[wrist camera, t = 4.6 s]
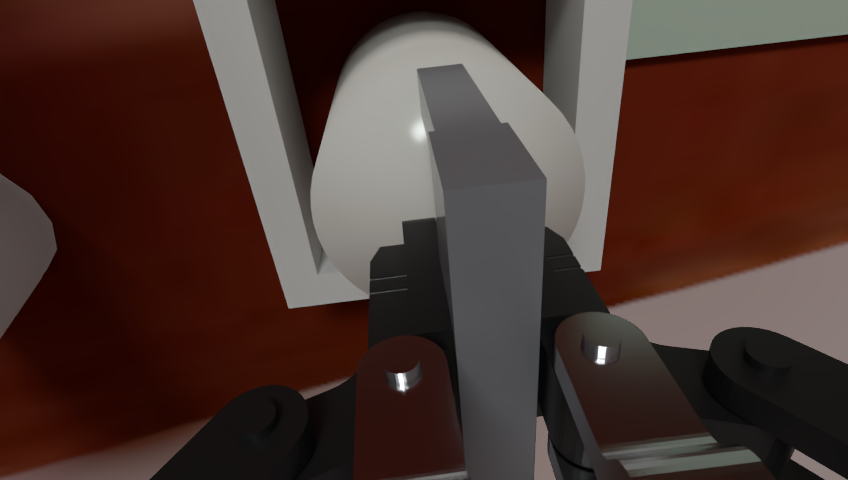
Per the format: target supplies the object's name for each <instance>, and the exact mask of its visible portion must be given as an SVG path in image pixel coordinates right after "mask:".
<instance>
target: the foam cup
mask: <svg viewBox="0 0 848 480" xmlns="http://www.w3.org/2000/svg"><path fill="white" fill-rule="evenodd" d="M56 251H57V246H56V241H55V235H54V230H53V225H52V222H51V221H50V219H49V218H48V217H47V215H46V214H45V213H44V211H43V210H42V209H41V207H40V206H39V205H38V203H37V202H36V201H35V199H34V198H33V196H32V195H31V194H29V193H28V192H26V191H25V190H23V189H22V188H20V187H19V186H17V185H16V184H15V183H13V182H12V181H10V180H9V179H7V178H6V177H4V176H3V175H1V174H0V339H1V337H2V336H3V334H4V333H5V331H6V330H7V328H8V327H9V325H10V324H11V322H12V321H13V319H14V318H15V317H16V315H17V314H18V312H19V311H20V309H21V308H22V306H23V305H24V303H25V302H26V300H27V299H28V298H29V296H30V295H31V293H32V292H33V290H34V289H35V287H36V286H37V284H38V283H39V281H40V280H41V278H42V276H43V274H44V272H45V271H46V270H47V269H48V267H49V265H50V263H51V261H52V259H53V257H54V255H55V253H56Z"/></svg>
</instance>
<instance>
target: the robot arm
mask: <svg viewBox="0 0 848 480" xmlns="http://www.w3.org/2000/svg"><path fill="white" fill-rule="evenodd" d="M402 228H403V240H404V244H400V245H392V246H383V247H380V248H379V249H378V251H377V252H376V254H375V255H374V257H373V258H372V260H371V261H370V287H369V292H370V295H369V333H368V351H367V352H366V353H365V354H364V355H363V357H362V358H361V360H360V362H359V365H358V367H357V372H356V373H355V374H354V375H353V376H352V377H351V378H349V379H348V380H347V381H345V382H344V383H342V384H341V385H339V386H337V387H335V388H333V389H331V390H328V391H326V392H323V393H321V394H318V395H316V396H313V397H311V398H308V399H306V400H304V398H303V397H302V395H301V394H299V393H298V392H297V391H296V390H294V389H292V388H289V387H286V386H280V385H269V386H262V387H259V388H255V389H252V390H250V391H247V392H245V393H243V394H241V395H239V396H238V397H236V398H235V399H233V400H232V401H230V402H229V403H228V404H227V405H226V406H225V407H223V408H222V409H221V410H220V411H219V412H218V413H217V414H216V415H215V416H214V417H213V418H212V419H211V420H210V421H209V422H208V423H207V424H206V425H205V426H204V427H203V428H202V429H201V430H200V431H199V432H198V433H197V434H196V435H195V436H194V437H193V438H192V439H191V440H190V441H189V442H188V443H187V444H186V445H185V446H184V447H183V448H182V449H181V450H179V451H178V453H176V454H175V455H174V456H173V457H172V458H171V459H170V460H169V461H168V462H167V463H166V464H165V465H164V466H163V467H162V468H161V469H160V470H159V471H158V472H157V473H156V474H155V475H154V476H153V477H152V478H151V479H150V480H471V479H470V477H468V474H467V469H466V464H465V458H464V453H463V447H462V442H461V436H460V430H459V427H461V422H460V410H459V398H458V386H457V374H456V362H455V350H454V338H453V328H452V323H451V317H450V312H449V307H448V302H447V296H446V291H445V286H444V281H443V275H442V270H441V265H440V256H439V245H438V234H437V224H436V219H435V217H432V218H424V219H416V220H408V221H402ZM538 416H543V417H544V420H545V423H546V426H547V429H548V455H549V459H550V462H551V465H552V468H553V471H554V475H555V478H556V480H824V479H823V478H821V477H819V476H818V475H816V474H814V473H813V472H811V471H809V470H808V469H806V468H804V467H803V466H801V465H799V464H798V463H796V462H795V461H793V460H791V459H790V458H791V456H792V454H793V452H794V450H795V449H797V450H798V451H800V452H802V453H803V454H805V455H807V456H808V457H810V458H812V459H814V460H815V461H817V462H819V463H820V464H822V465H824V466H826V467H827V468H829V469H831V470H832V471H834V472H836V473H837V474H839V475H841V476H842V477H844V478H846V479H848V364H846V363H843V362H841V361H839V360H837V359H835V358H833V357H830V356H828V355H826V354H824V353H822V352H819V351H817V350H815V349H813V348H810V347H808V346H806V345H804V344H802V343H800V342H797V341H795V340H793V339H791V338H789V337H786V336H784V335H781V334H779V333H776V332H772V331H769V330H765V329H760V328H752V327H738V328H731V329H727V330H725V331H723V332H720V333H719V334H718V335H716V336H715V337H714V339H713V340H712V343H711V346H710V349H709V351H706V350H697V349H688V348H679V347H670V346H664V345H659V344H655V343H651V342H649V340H648V339H647V337H646V336H645V334H644V333H643V332H642V331H641V330H640V329H639V328H638V327H637V326H635V325H634V324H632V323H631V322H629V321H627V320H625V319H623V318H621V317H619V316H616V315H612V314H610V312H609V311H608V309H607V307H606V306H605V304H604V303H603V301H602V299H601V298H600V296H599V294H598V293H597V291H596V289H595V288H594V286H593V285H592V283H591V281H590V280H589V278H588V276H587V275H586V273H585V272H584V270H583V269H581V265H580V263H579V262H578V260H577V259H576V257H575V256H573V252H572V250H571V249H570V247H569V246H568V244H567V242H566V241H565V239H564V238H563V237H561V236H560V235H558V234H557V233H555V232H554V231H552V230H551V229H549V228H548V227H545V234H544V257H543V280H542V303H541V326H540V349H539V371H538V394H537V417H538Z"/></svg>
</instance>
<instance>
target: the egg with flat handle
mask: <svg viewBox="0 0 848 480" xmlns="http://www.w3.org/2000/svg"><path fill="white" fill-rule="evenodd" d="M310 194H311V212H312V218H313V224H314V227H315V230H316V233H317V236H318V239H319V241H320V243H321V245H322V247H323V249H324V251H325V253H326V254H327V256H328V257H329V259H330V260H331V262H332V263H333V265H334V266H335V267H336V268H337V269H338V270H339V271H340V273H341V274H342V275H343V276H344V277H345V278H346V279H348V280H349V281H350V282H351V283H352V284H353V285H355V286H356V287H357V288H359V289H360V290H362V291H363V292H365V293H366V294H368V295H370V292H369V287H370V261H371V260H372V258H373V257H374V255H375V254H376V252H377V251H378V249H379V248H380V247H383V246H392V245H400V244H404V240H403V228H402V221H408V220H416V219H424V218H432V217H435V219H436V224H437V234H438V245H439V256H440V265H441V270H442V275H443V281H444V286H445V291H446V296H447V302H448V307H449V312H450V317H451V323H452V328H453V338H454V350H455V362H456V374H457V386H458V398H459V410H460V422H461V427H459V430H460V436H461V442H462V447H463V453H464V458H465V464H466V469H467V474H468V477H470V479H471V480H534V463H535V440H536V417H537V394H538V371H539V349H540V326H541V303H542V280H543V257H544V234H545V227H548V228H549V229H551V230H552V231H554V232H555V233H557V234H558V235H560V236H561V237H563V238H564V239H565V241H566V242H568V241H569V239H570V237H571V236H572V233H573V231H574V229H575V227H576V225H577V222H578V219H579V216H580V213H581V210H582V206H583V200H584V194H585V169H584V161H583V156H582V153H581V149H580V146H579V143H578V140H577V138H576V136H575V134H574V132H573V130H572V127H571V126H570V124H569V123H568V121H567V120H566V118H565V117H564V115H563V114H562V113H561V112H560V110H559V109H558V108H557V107H556V106H555V105H554V104H553V103H552V102H551V101H550V100H549V99H548V98H547V97H546V96H545V95H544V94H543V93H542V92H541V91H540V90H539V89H538V88H537V87H536V86H535V85H534V84H533V83H532V82H531V81H530V80H529V79H527V78H526V77H525V76H524V75H523V74H522V73H521V72H520V71H519V70H518V69H517V68H516V67H515V66H514V65H513V64H512V63H511V62H510V61H509V60H508V59H507V58H506V57H505V56H504V55H502V54H501V53H500V52H499V51H498V50H497V49H496V48H495V47H494V46H493V45H492V44H491V43H490V42H489V41H488V40H487V39H486V38H485V37H484V36H483V35H482V34H481V33H479V32H478V31H477V30H476V29H474V28H473V27H472V26H471V25H469V24H467V23H465V22H464V21H462V20H460V19H458V18H455V17H453V16H450V15H447V14H443V13H439V12H430V11H415V12H409V13H403V14H400V15H397V16H394V17H391V18H389V19H387V20H385V21H383V22H381V23H379V24H377V25H376V26H374V27H373V28H372V29H370V30H369V31H368V32H367V33H366V34H364V35H363V36H362V37H361V38H360V39H359V41H358V42H357V43H356V44H355V45H354V47H353V48H352V49H351V51H350V53H349V54H348V56H347V58H346V60H345V62H344V64H343V67H342V69H341V72H340V76H339V79H338V83H337V87H336V90H335V94H334V98H333V101H332V105H331V109H330V112H329V116H328V120H327V123H326V127H325V131H324V134H323V138H322V142H321V145H320V149H319V153H318V157H317V160H316V164H315V168H314V171H313V176H312V183H311V191H310Z"/></svg>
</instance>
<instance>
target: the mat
mask: <svg viewBox="0 0 848 480" xmlns="http://www.w3.org/2000/svg"><path fill="white" fill-rule="evenodd" d="M846 34H848V0H633V3H632V11H631V19H630V28H629V36H628V44H627V53H626V60H630V59H638V58H647V57H655V56H664V55H673V54H681V53H690V52H699V51H707V50H716V49H725V48H733V47H742V46H751V45H759V44H768V43H776V42H785V41H794V40H802V39H811V38H820V37H828V36H837V35H846Z"/></svg>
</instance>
